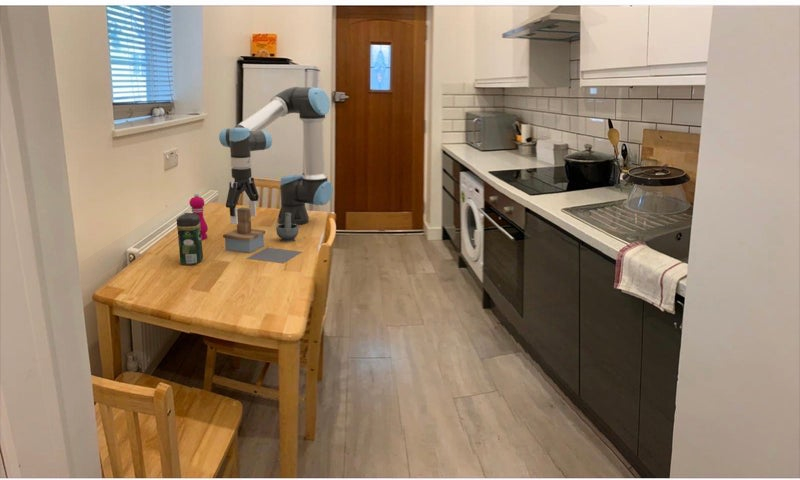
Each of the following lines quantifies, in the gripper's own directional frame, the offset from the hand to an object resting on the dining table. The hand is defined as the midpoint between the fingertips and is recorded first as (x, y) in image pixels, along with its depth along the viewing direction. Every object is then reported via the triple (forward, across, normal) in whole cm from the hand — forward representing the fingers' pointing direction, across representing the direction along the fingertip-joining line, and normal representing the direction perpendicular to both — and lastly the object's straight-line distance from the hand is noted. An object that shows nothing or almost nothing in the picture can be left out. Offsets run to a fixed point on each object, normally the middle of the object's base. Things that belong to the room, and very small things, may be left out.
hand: (243, 220), depth 220 cm
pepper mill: (+13, +7, +27) cm, 31 cm away
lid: (+7, 0, 0) cm, 7 cm away
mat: (+12, -4, -16) cm, 21 cm away
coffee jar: (+13, -21, +10) cm, 27 cm away
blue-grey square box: (+12, 0, 0) cm, 13 cm away
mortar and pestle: (+13, +18, -10) cm, 24 cm away
